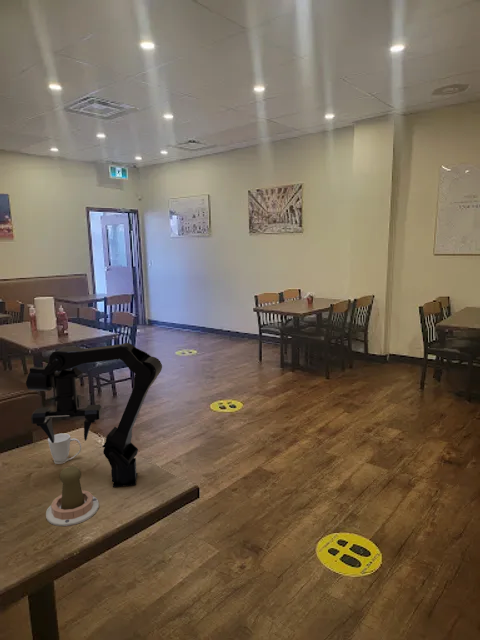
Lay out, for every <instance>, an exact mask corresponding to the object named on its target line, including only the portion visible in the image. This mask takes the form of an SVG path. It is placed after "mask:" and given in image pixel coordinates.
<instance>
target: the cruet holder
mask: <svg viewBox="0 0 480 640" xmlns="http://www.w3.org/2000/svg"><path fill="white" fill-rule="evenodd" d="M82 493H83V498H84V502H85V503H84V504H83V505H82V506H80V507H77V508H74V509H67V510H64V509H61V500H62V493H61V494H59V495H58V496H57V497H56V498H54V499H53V500H52V503H51V504H50V505H49V507H48V508H47V509H46V512H45V517H46V520H47V522H48V523H49V524H51V525H53V526H58V527H69V526H74V525H79V524H80V523H84V522H85V521H87V520H89V519H91V518H92V517H94V515H95V514H96V513H97V512H98V511H99V507H100V503H99V500H98V498H97V497H96V496H94V495H93V494H92V493H91V492H90V491H88V490H83V489H82Z"/></svg>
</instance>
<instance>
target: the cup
mask: <svg viewBox="0 0 480 640" xmlns="http://www.w3.org/2000/svg"><path fill="white" fill-rule="evenodd" d="M74 441H75V442H77V443H78V444H79V450H78V452H76V454H74V455H73V456H72V457H70V458H69V456H70V455H69V454H70V450H71V449H70V448H71V442H74ZM47 443H48V445H49V446H48V448H49V450H50V454H51V457H52V459H53V463H54V464H55V465H62V464H66V463H67V462H68V461H71V460H73V459H74V458H77V456H79V454H80V453H81V451H82V444H81V442H80V440H79V439H78V438H71V435H70V434H69V433H62V432H61V433H56V434H54V443H52V442H51V440H50V439H49V437H48V438H47Z"/></svg>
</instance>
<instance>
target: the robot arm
mask: <svg viewBox="0 0 480 640" xmlns="http://www.w3.org/2000/svg"><path fill="white" fill-rule="evenodd" d="M115 360H120V361H122V362H123V363H124V364H125V366H126V367H127V368H128V369H129V370H130V371H131V372H132V373H134V378H133V389H132V391H131V394H130V396H129V399H128V401H127V403H126V406H125V408H124V411H123V414H122V416H121V418H120V421H119V423H118V425H117V427H116V426H114V427H113V428H112V429H111V430H110V432H108V433H107V435H106V437H105V442H104V444H103V445H102V446H101V447H102V448H103V455H104V457H105V458H106V460H107V461H108V463H109V465H110V472H111V482H112V488H119V487H131V486H137V480H138V473H137V459H136V456H137V454H138V451H139V449H138V447H136V446H135V445H134V444H133V443H132V438H133V433H132V432H133V429H134V428H133V427H134V425H135V424H136V421H137V418H138V416H139V413H140V411H141V409H142V407H143V404H144V401H145V399H146V396H147V394H148V392H149V389H150V388H151V386H152V385H153V384H154V382H155V380H156V379H157V377H158V376H159V375H160V373H161V372H162V369H163V365H162V362H161V360H160V359H159V358H157V357H155V356H152V355H150V354H149V353H147V352H146V351H143V350H141V349H139V348H137V347H135V346H134V345H133V344H131V343H129V342H123V343H121V344H119V343H118V344H112V345H105V346H96V347H90V348H87V347H86V348H82V347H77V346H64V347H61V348H58V349H57V350H55V351H52V352H51V354H50V356H49V361H48V363H47V364H46V366H45V367H41V366H40V367H39V366H32V367H31V368H29V372H28V375H27V376H26V380H25V385H26V388H27V389H28V390H29V391H38V392H39V391H40V392H41V391H45V392H51V391H52V389H53V388H54V394H55V397H54V401H55V407H56V408H55V409H56V410H52V409H51V408H50V406H49V407H48V406H47V407H37V408H36V409H35V410H34V411H33V412H32V414H31V416H30V421H31V424H32V425H35V424H36V427H40V428H41V430H43V432H44V433H45V434H46V436H47V437H48V438H49V439H50V440H51V442H52V443H54V435H55V431H54V426H53V419H55V418H71V417H72V418H73V417H84V419H85V420H84V421H83V438H84V441H87V439H88V436H89V432H90V428H91V425H92V424H93V423H96V421H98V420H100V419H101V416H102V414H103V407H102V405H100V404H89V405H87V406H86V408H83V409H81V408H80V407H81V405H82V403H81V400H82V395H81V394H78V390H77V384H76V383H77V381H76V378H78V377H80V376H81V375H83V371H82V370H80V369H78V367H77V366H79V365H83V364H90V363H98V362H106V361H107V362H108V361H115ZM79 408H80V409H79Z"/></svg>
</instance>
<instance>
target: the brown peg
mask: <svg viewBox="0 0 480 640" xmlns="http://www.w3.org/2000/svg"><path fill="white" fill-rule="evenodd" d="M81 477H82V471H81V468H79V467H78V466H73V465H72V466H68V467H65V468H64V469H62V470H61V471H60V474H59V480H60V482H61V484H62V488H61V494H62V500H61V509H64V510H67V509H74V508H77V507H80V506H82V505H83V504H84V503H85V502H84V498H83V493H82V490H83V489H82V485H81V481H80V480H81Z"/></svg>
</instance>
